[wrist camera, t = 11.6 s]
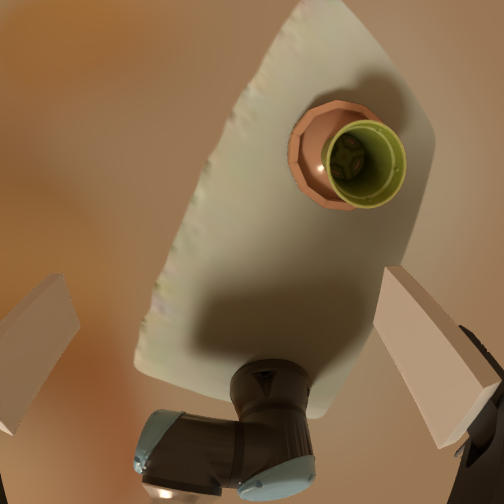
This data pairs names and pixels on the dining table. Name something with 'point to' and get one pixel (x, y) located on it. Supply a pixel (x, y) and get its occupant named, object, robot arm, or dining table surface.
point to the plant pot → (365, 163)
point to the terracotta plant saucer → (310, 146)
